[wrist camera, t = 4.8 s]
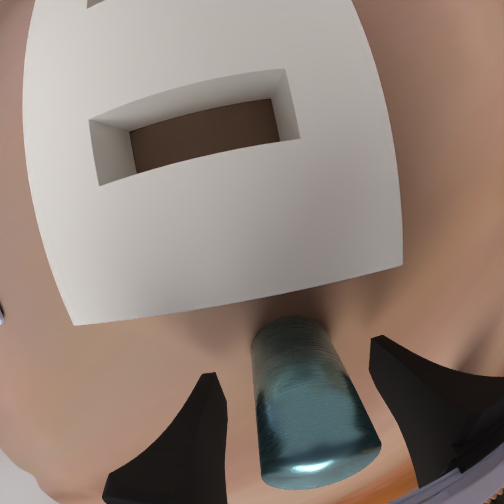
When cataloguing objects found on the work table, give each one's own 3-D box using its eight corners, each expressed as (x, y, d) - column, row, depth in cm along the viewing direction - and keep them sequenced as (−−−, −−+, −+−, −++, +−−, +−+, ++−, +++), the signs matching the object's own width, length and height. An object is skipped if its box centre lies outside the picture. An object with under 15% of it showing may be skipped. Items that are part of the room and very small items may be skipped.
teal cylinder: (258, 383, 14) (270, 496, 7) (243, 325, 13) (250, 453, 6) (329, 368, 14) (372, 471, 7) (326, 307, 12) (390, 417, 6)
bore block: (108, 288, 12) (74, 325, 8) (77, -29, 6) (54, -53, 3) (362, 239, 12) (403, 265, 8) (272, -77, 6) (279, -110, 2)
